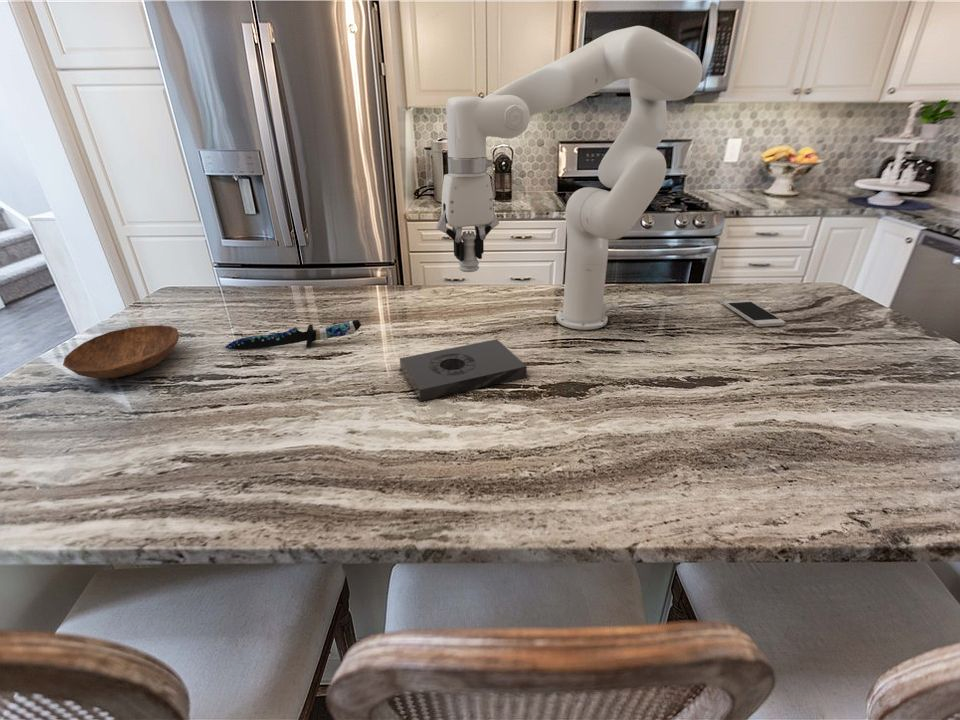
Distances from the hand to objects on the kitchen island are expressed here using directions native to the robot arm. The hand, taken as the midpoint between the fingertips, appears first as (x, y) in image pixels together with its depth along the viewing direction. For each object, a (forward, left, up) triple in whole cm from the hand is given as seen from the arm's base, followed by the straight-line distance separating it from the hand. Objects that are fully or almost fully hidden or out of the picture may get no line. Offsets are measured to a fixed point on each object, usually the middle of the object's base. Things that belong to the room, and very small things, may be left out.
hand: (468, 257), depth 106 cm
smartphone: (-70, +16, -19) cm, 75 cm away
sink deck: (+8, +14, -19) cm, 25 cm away
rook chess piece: (0, 0, -3) cm, 3 cm away
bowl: (+71, -18, -20) cm, 75 cm away
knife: (+38, -14, -20) cm, 45 cm away
